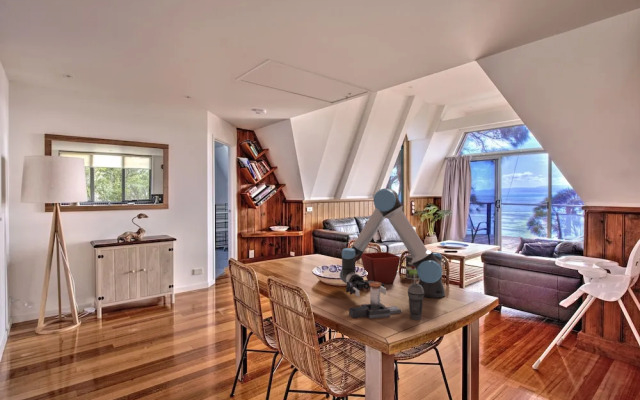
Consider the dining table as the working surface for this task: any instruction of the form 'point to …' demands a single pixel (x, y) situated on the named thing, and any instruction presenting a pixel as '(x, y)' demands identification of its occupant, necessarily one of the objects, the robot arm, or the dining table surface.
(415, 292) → the beverage cup
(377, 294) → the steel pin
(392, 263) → the plant pot
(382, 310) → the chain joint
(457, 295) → the dining table surface
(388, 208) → the robot arm
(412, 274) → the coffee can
